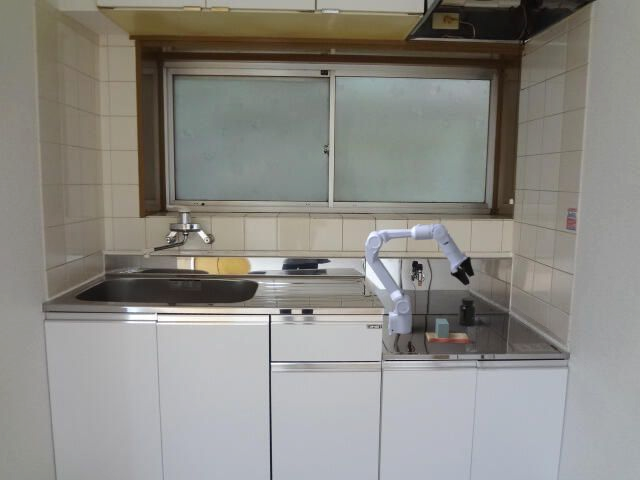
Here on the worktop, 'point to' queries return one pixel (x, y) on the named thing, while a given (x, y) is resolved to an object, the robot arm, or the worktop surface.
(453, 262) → the robot arm
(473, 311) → the supplement bottle
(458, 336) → the shelf board
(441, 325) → the tea box
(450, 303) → the worktop surface
